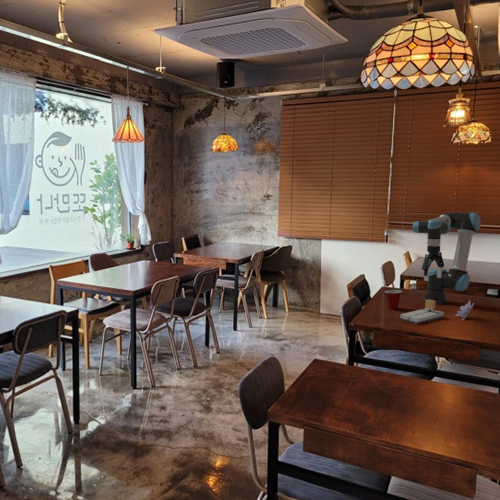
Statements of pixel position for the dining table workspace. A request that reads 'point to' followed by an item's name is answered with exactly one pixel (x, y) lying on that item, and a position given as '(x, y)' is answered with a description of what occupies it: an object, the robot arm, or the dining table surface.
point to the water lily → (465, 310)
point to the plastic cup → (393, 298)
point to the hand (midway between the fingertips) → (432, 279)
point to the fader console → (421, 315)
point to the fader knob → (430, 304)
